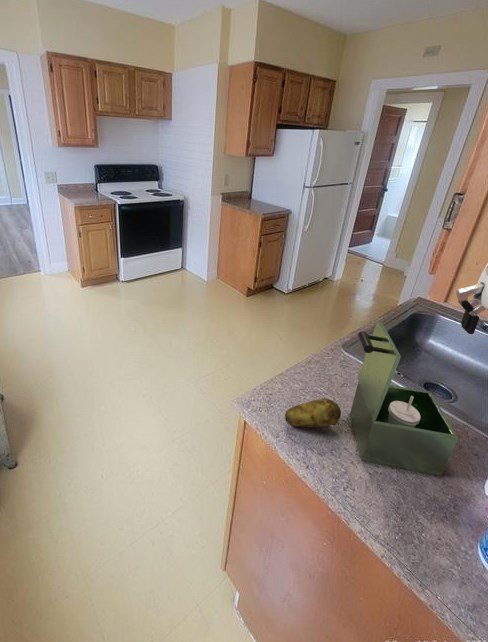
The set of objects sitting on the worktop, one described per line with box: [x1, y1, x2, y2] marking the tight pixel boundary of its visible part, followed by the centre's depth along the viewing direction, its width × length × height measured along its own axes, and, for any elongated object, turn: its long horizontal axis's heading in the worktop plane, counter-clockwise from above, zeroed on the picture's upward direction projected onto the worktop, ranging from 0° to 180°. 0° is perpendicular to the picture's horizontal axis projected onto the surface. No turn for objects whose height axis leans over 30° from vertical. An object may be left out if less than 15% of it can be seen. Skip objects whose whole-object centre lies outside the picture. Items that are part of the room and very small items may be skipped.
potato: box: [284, 397, 342, 428], centre depth 82 cm, size 8×13×8 cm, turn 67°
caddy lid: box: [357, 319, 402, 422], centre depth 73 cm, size 18×14×5 cm
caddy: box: [349, 380, 459, 477], centre depth 76 cm, size 17×14×12 cm
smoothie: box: [388, 396, 421, 428], centre depth 76 cm, size 6×6×14 cm
